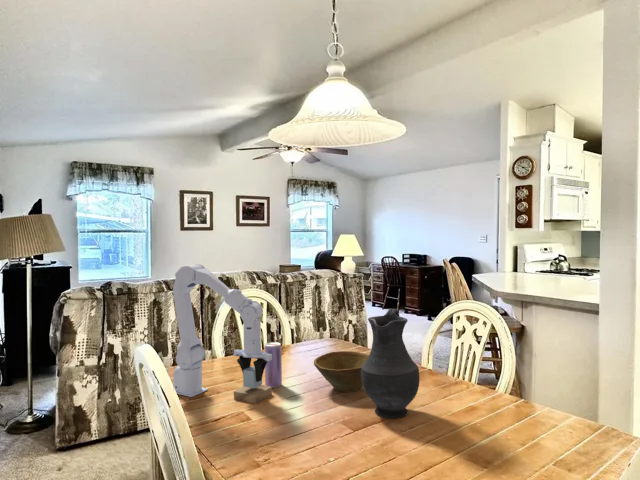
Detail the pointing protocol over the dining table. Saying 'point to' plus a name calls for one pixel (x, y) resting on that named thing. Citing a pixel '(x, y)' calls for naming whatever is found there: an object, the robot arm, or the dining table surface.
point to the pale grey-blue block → (250, 378)
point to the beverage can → (273, 365)
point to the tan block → (253, 393)
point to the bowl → (342, 369)
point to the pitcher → (389, 367)
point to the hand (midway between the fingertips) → (252, 379)
